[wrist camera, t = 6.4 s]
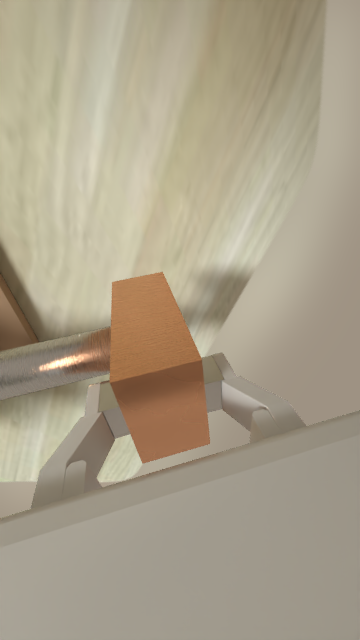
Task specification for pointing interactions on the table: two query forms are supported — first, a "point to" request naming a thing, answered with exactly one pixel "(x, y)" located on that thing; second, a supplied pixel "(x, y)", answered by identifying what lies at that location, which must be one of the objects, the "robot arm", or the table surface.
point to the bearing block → (13, 322)
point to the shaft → (128, 367)
